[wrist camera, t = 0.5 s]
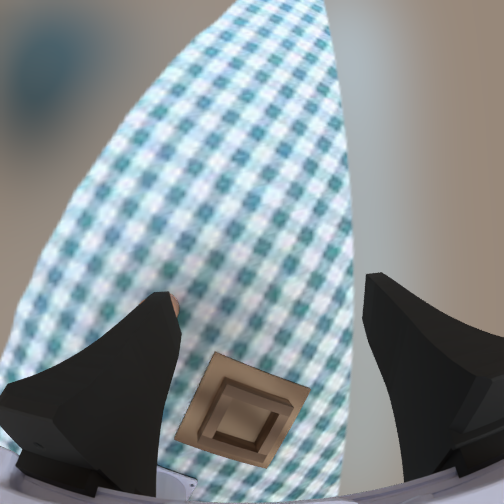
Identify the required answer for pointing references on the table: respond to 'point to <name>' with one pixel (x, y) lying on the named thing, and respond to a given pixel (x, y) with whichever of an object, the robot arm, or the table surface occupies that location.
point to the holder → (241, 412)
